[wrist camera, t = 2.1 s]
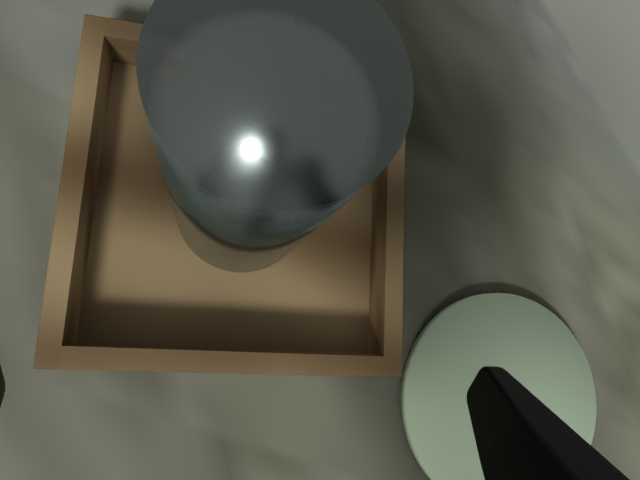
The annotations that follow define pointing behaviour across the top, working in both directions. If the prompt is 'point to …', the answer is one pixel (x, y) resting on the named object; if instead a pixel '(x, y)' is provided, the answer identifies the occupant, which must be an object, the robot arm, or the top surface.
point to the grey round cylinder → (269, 116)
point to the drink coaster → (465, 362)
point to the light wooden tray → (191, 271)
